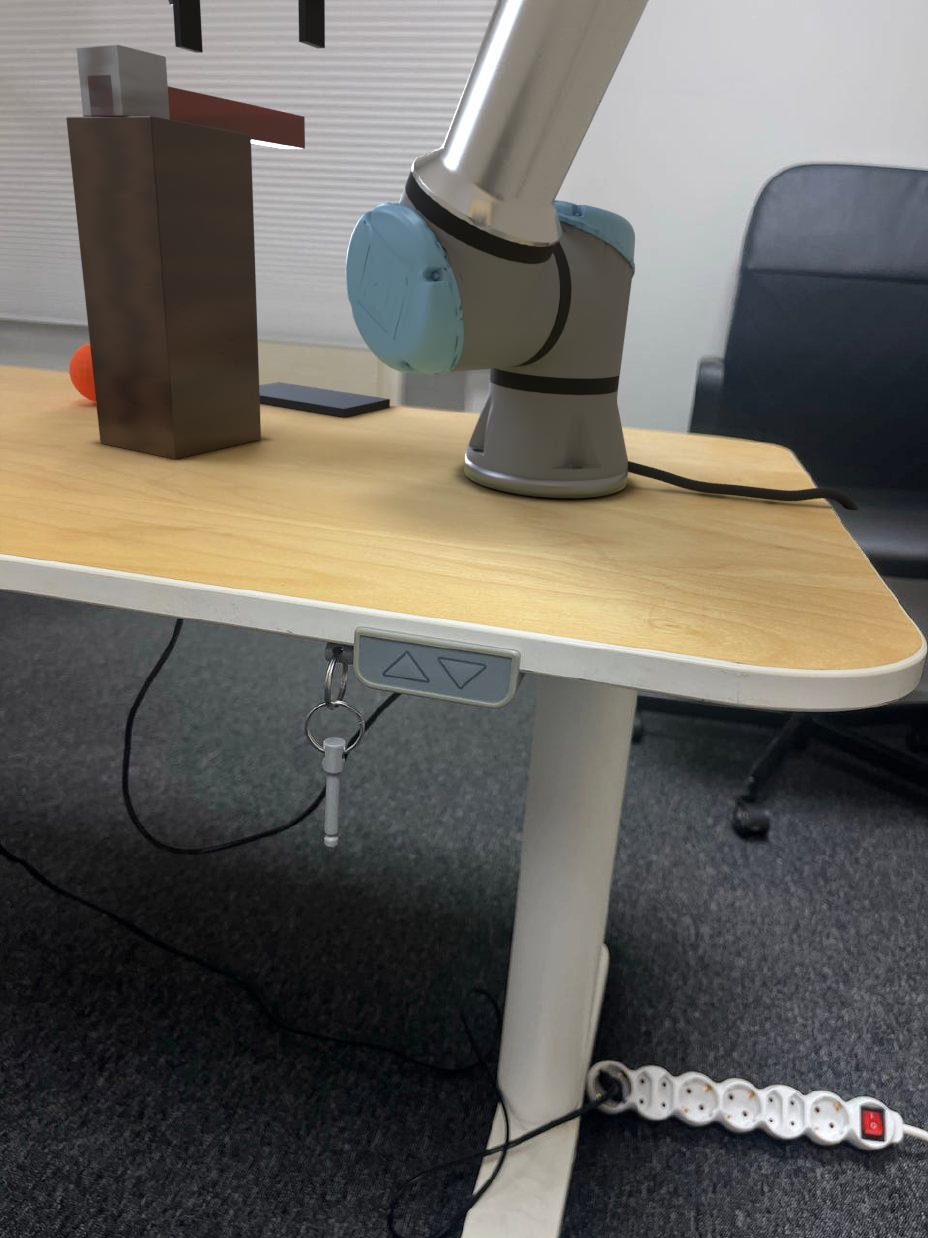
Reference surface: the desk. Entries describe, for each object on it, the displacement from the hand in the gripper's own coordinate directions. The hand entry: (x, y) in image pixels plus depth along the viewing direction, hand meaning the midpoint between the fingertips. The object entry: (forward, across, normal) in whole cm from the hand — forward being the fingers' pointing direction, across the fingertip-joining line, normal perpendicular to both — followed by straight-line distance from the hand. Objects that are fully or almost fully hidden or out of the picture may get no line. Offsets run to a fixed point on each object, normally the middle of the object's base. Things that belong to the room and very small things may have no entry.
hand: (248, 47), depth 78 cm
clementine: (+35, -26, +4) cm, 44 cm away
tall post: (+35, -5, -6) cm, 36 cm away
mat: (+35, -10, +22) cm, 42 cm away
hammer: (+7, -5, 0) cm, 8 cm away
